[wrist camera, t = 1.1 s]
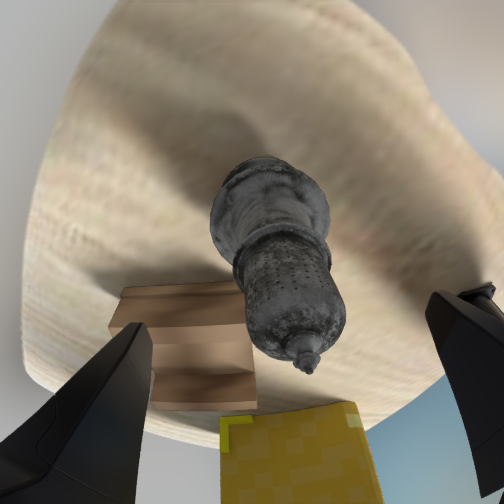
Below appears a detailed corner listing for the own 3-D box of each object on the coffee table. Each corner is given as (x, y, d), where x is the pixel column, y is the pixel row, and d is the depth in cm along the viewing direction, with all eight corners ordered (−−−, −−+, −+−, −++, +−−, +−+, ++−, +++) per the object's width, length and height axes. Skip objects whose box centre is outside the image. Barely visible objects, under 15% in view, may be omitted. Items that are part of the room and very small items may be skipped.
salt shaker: (224, 143, 15) (191, 243, 4) (324, 164, 16) (460, 285, 5) (208, 236, 17) (180, 418, 7) (298, 251, 18) (357, 420, 8)
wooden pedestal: (245, 279, 19) (248, 319, 16) (254, 374, 25) (257, 410, 21) (124, 287, 19) (106, 324, 16) (162, 376, 24) (156, 410, 21)
